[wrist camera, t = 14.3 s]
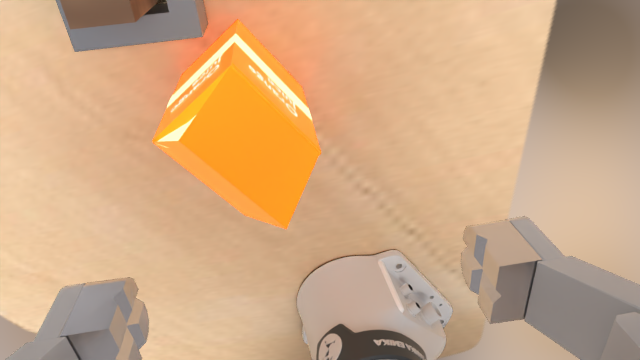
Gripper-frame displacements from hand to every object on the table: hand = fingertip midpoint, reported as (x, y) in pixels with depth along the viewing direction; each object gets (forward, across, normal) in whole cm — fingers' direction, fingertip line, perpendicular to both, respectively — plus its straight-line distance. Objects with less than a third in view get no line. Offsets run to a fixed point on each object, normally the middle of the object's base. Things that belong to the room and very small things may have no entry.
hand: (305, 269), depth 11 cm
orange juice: (+34, +3, +6) cm, 35 cm away
